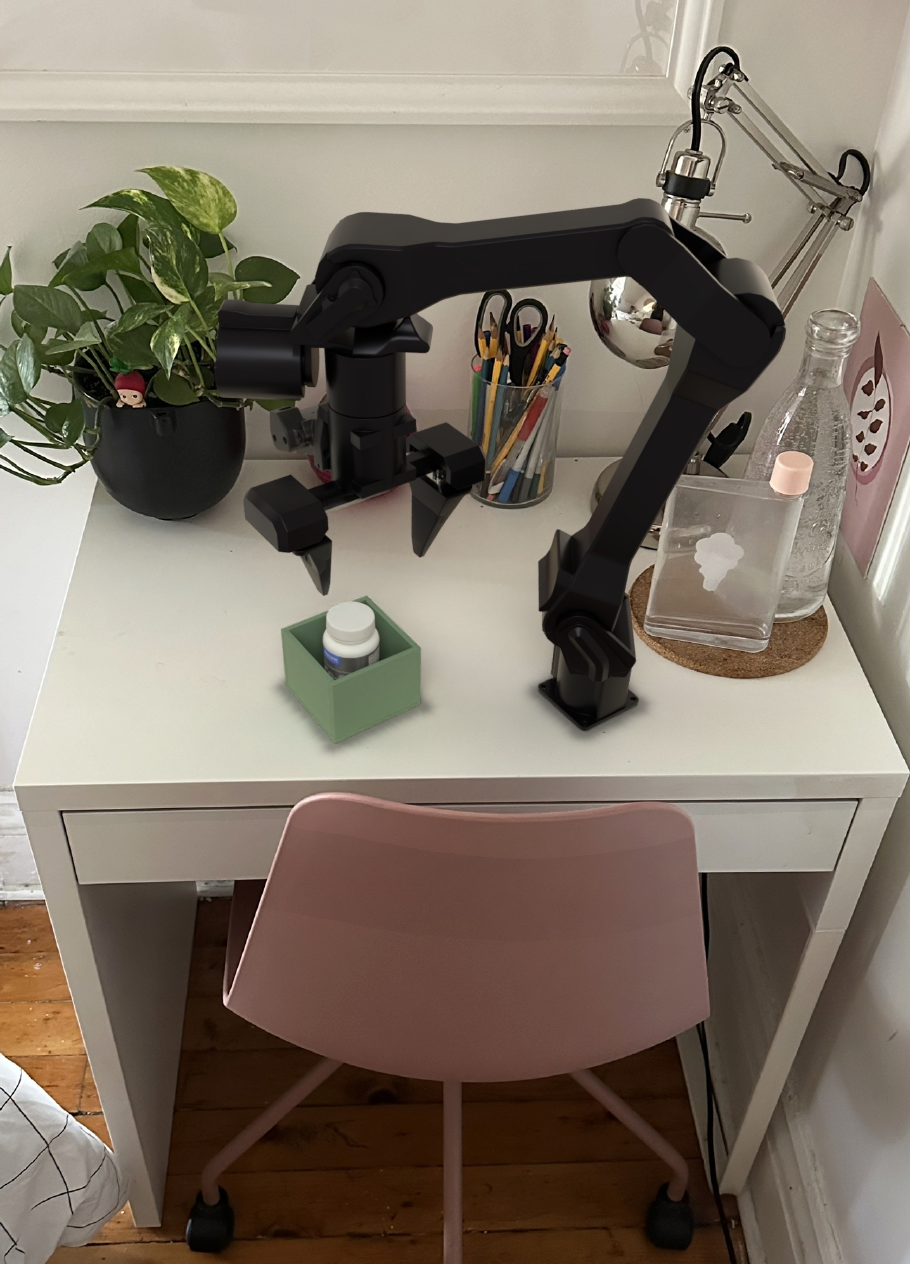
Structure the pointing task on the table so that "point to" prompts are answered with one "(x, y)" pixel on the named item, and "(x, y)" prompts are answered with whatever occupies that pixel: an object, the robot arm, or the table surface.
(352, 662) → the pill bottle
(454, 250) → the robot arm
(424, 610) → the table surface
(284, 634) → the waste bin
